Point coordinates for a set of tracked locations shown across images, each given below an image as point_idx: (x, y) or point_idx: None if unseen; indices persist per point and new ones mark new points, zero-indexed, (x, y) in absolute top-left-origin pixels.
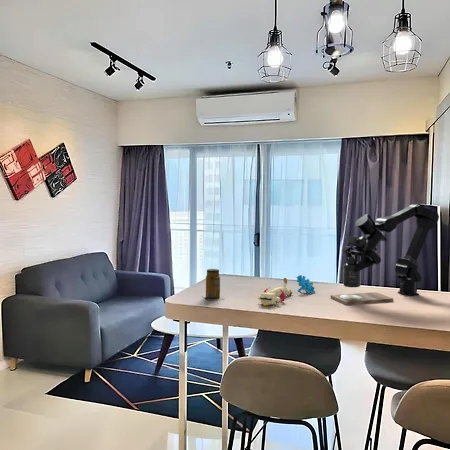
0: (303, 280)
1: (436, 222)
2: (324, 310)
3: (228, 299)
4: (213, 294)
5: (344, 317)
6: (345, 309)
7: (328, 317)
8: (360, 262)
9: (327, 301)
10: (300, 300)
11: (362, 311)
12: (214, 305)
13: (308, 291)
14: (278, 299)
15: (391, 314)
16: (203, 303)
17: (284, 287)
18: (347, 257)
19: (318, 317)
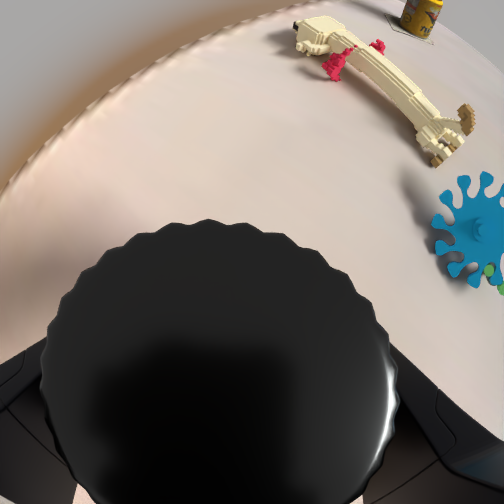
0: (498, 217)
1: None
2: (167, 127)
3: (393, 33)
4: (401, 16)
5: (78, 143)
6: (129, 201)
7: (109, 105)
8: (8, 368)
9: (282, 220)
10: (342, 136)
11: (76, 243)
12: (344, 4)
13: (434, 222)
14: (300, 43)
15: (13, 308)
16: (364, 4)
17: (439, 120)
18: (247, 262)
19: (127, 85)
